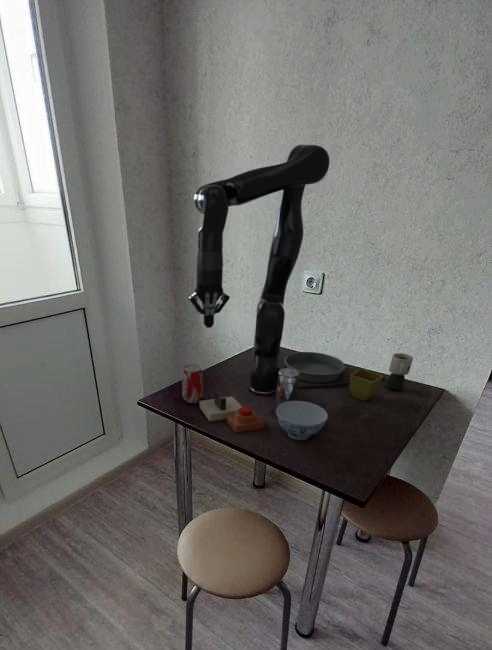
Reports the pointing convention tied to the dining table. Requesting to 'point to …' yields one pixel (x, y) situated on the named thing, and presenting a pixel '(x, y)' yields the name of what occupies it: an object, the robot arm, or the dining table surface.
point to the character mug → (398, 370)
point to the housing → (244, 421)
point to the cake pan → (315, 366)
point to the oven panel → (214, 412)
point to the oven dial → (220, 401)
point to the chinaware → (301, 418)
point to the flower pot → (364, 384)
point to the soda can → (192, 384)
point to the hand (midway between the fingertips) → (208, 326)
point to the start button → (245, 411)
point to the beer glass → (286, 386)
